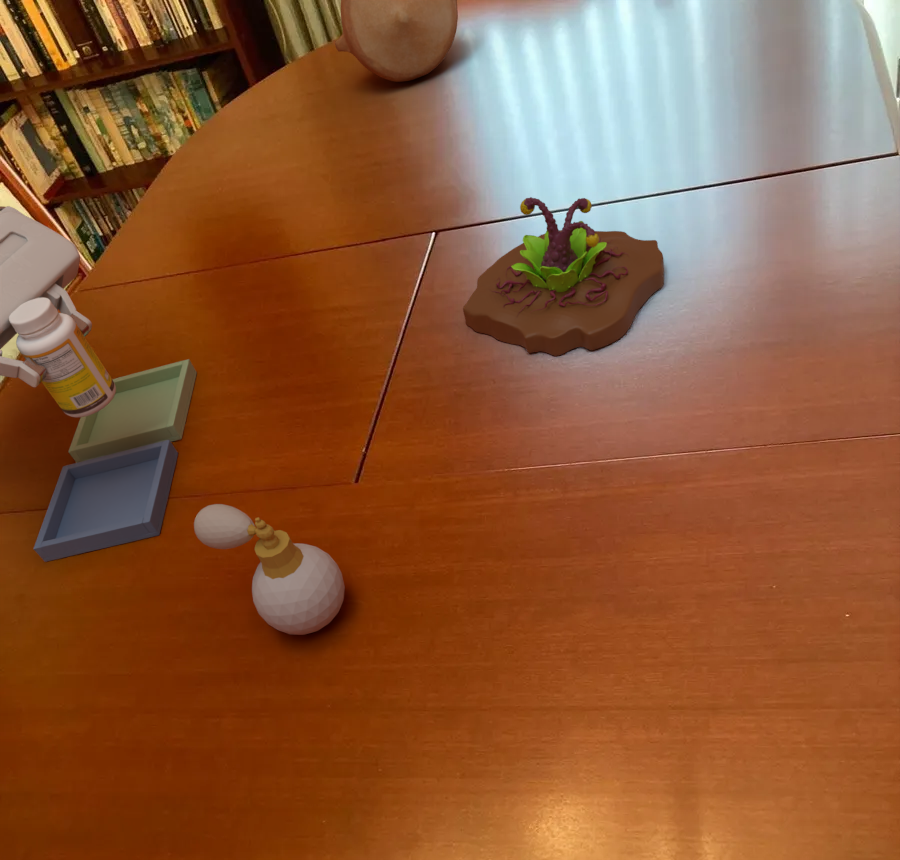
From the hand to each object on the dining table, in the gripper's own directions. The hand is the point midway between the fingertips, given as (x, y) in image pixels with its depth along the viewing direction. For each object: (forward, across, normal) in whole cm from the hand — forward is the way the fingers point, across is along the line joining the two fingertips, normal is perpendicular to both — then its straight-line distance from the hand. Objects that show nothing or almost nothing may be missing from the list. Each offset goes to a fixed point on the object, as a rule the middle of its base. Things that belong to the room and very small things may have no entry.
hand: (64, 355), depth 81 cm
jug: (+1, -104, -22) cm, 107 cm away
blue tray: (+10, +4, -13) cm, 17 cm away
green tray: (+5, -10, -18) cm, 21 cm away
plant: (+36, -33, +14) cm, 51 cm away
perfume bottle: (+30, +13, +7) cm, 34 cm away
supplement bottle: (+4, 0, -4) cm, 6 cm away
